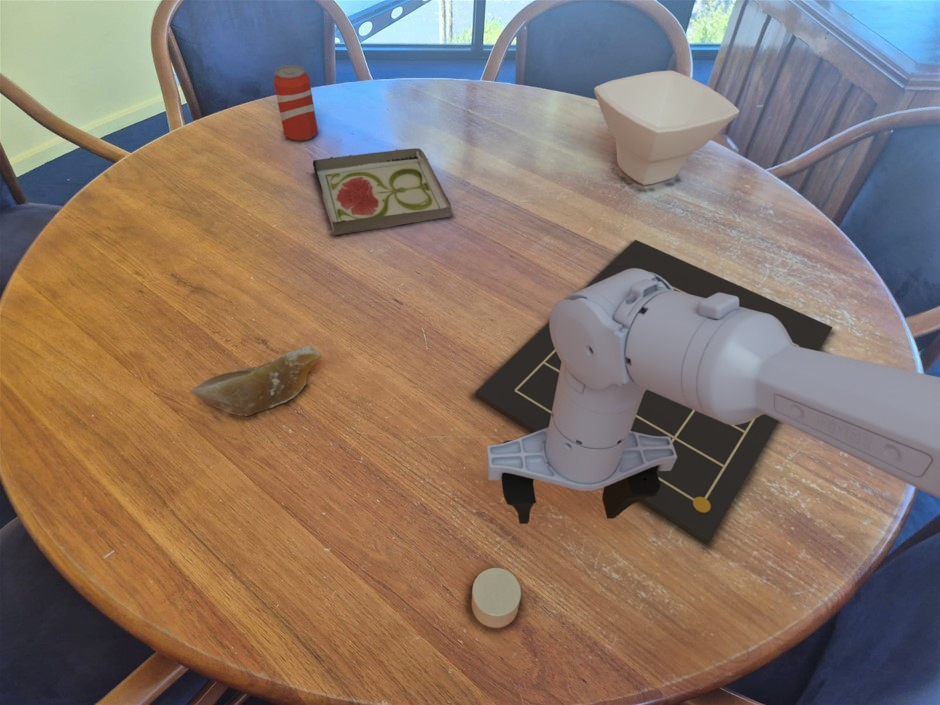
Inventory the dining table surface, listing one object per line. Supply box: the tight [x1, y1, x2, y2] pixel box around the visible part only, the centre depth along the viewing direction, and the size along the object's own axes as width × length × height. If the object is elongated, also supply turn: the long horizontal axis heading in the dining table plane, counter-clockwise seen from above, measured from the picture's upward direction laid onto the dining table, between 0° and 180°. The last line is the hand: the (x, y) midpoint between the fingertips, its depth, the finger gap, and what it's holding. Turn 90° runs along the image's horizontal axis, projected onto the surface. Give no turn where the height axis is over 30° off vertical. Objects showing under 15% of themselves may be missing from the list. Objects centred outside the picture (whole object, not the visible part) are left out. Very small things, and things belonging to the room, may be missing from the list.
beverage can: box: [273, 64, 318, 142], centre depth 113 cm, size 6×6×12 cm
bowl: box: [593, 70, 740, 186], centre depth 106 cm, size 19×19×14 cm
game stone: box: [471, 567, 522, 629], centre depth 57 cm, size 4×4×3 cm
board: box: [475, 239, 833, 546], centre depth 79 cm, size 40×30×1 cm
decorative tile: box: [312, 147, 452, 236], centre depth 104 cm, size 20×3×20 cm
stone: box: [190, 345, 322, 417], centre depth 72 cm, size 7×6×15 cm
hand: (565, 510), depth 54 cm, fingers open, 7 cm apart
